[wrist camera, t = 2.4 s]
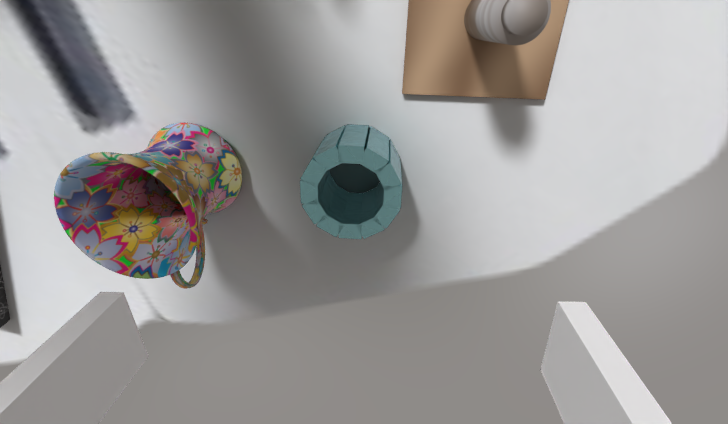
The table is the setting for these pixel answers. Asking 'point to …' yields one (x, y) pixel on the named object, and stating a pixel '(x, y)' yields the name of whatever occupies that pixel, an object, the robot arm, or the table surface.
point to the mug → (149, 202)
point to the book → (3, 303)
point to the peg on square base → (482, 47)
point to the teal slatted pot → (349, 209)
